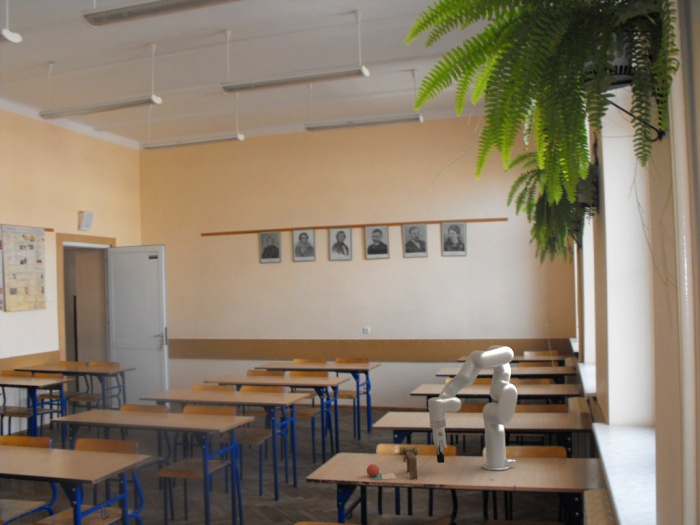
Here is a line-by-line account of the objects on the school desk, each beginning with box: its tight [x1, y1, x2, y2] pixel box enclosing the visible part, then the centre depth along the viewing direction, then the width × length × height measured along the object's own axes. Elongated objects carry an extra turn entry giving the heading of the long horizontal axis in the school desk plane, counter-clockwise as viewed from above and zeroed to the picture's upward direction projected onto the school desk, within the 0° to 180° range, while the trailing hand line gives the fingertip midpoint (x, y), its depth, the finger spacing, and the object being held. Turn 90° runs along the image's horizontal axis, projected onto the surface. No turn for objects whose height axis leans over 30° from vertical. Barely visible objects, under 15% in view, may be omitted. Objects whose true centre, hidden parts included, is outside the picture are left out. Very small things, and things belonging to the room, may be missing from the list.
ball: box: [366, 463, 380, 477], centre depth 312 cm, size 6×6×6 cm
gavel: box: [399, 446, 420, 463], centre depth 351 cm, size 21×5×10 cm
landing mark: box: [369, 472, 383, 481], centre depth 312 cm, size 12×12×1 cm
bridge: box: [405, 451, 418, 481], centre depth 313 cm, size 3×15×10 cm, turn 2°
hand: (440, 462), depth 314 cm, fingers closed
